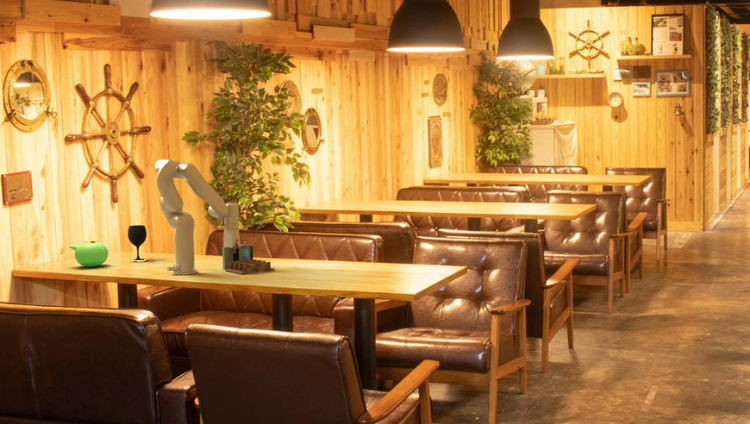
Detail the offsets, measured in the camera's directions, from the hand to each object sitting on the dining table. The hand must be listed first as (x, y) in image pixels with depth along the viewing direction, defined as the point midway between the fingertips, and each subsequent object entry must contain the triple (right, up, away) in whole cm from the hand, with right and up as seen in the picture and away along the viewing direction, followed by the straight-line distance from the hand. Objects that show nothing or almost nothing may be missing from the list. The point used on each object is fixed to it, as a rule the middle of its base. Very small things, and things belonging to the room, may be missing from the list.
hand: (232, 259), depth 507 cm
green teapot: (-80, -5, +16) cm, 81 cm away
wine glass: (-59, -3, +36) cm, 69 cm away
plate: (0, -5, 0) cm, 5 cm away
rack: (+11, -6, -9) cm, 15 cm away
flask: (+3, -2, +31) cm, 32 cm away
